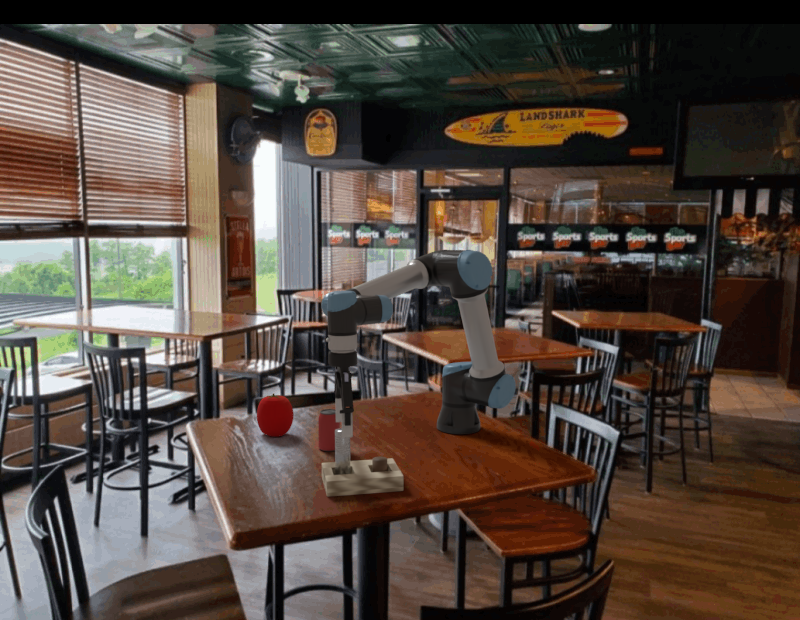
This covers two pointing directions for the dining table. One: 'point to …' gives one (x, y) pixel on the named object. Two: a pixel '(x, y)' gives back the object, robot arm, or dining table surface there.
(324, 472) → the socket block
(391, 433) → the dining table surface
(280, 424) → the tomato
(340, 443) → the steel pin
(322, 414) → the beer can
